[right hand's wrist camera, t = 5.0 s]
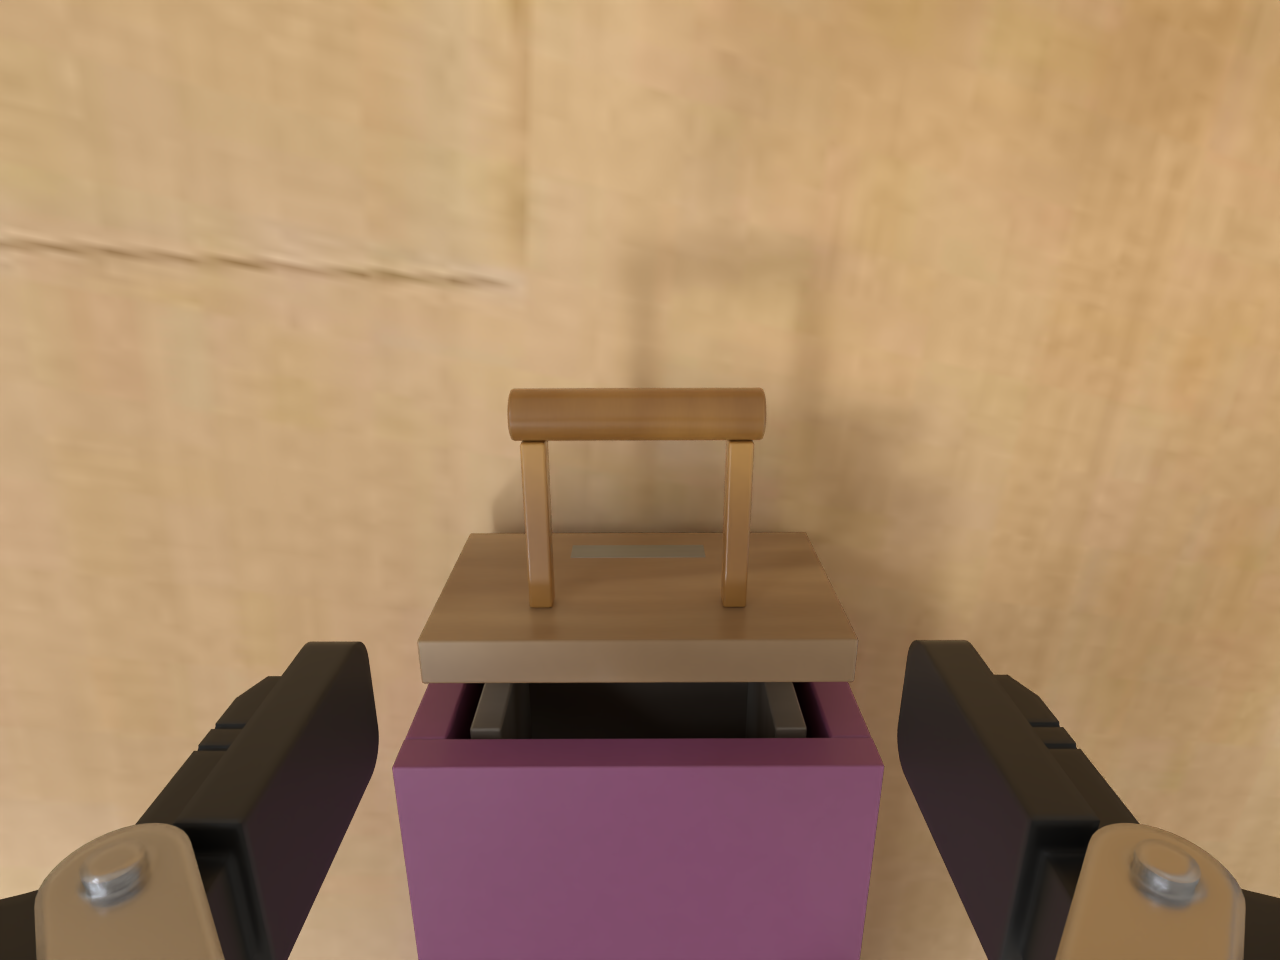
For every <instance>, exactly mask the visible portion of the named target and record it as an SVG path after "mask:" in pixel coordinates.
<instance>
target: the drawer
mask: <svg viewBox="0 0 1280 960" xmlns="http://www.w3.org/2000/svg"><path fill="white" fill-rule="evenodd" d="M765 426H766V399H765V394H764V391H763V389H761V388H564V389H512V390H511V391H510V394H509V398H508V427H509V433H510V436H511V439H512V440H514V441H522V442H521V445H520V451H521V468H522V485H523V502H524V519H525V533H481V534H470V536H469V538H468V540H467V542H466V544H465V546H464V548H463V550H462V552H461V554H460V556H459V558H458V560H457V562H456V564H455V566H454V568H453V570H452V572H451V574H450V576H449V578H448V580H447V582H446V584H445V586H444V588H443V591H442V593H441V595H440V597H439V599H438V601H437V603H436V605H435V607H434V609H433V611H432V613H431V615H430V617H429V619H428V621H427V623H426V625H425V627H424V629H423V631H422V633H421V635H420V637H419V639H418V642H417V643H418V652H419V660H420V669H421V678H422V682H423V683H485V684H484V687H483V690H482V693H481V697H480V700H479V703H478V706H477V709H476V713H475V716H474V719H473V722H472V725H471V728H470V734H471V739H668V738H806V732H807V728H806V725H805V721H804V718H803V715H802V712H801V709H800V705H799V702H798V699H797V696H796V693H795V689H794V686H793V683H792V682H853V681H854V676H855V666H856V657H857V648H858V638H857V636H856V634H855V632H854V630H853V628H852V626H851V624H850V622H849V620H848V618H847V616H846V614H845V612H844V610H843V608H842V606H841V604H840V602H839V600H838V598H837V596H836V593H835V591H834V589H833V587H832V585H831V583H830V581H829V579H828V577H827V575H826V573H825V571H824V569H823V567H822V565H821V563H820V561H819V559H818V557H817V555H816V553H815V551H814V548H813V546H812V544H811V542H810V540H809V538H808V536H807V534H806V533H805V532H767V533H750V518H751V497H752V477H753V456H754V443H753V441H752V440H760V439H762V438H763V436H764V433H765ZM596 440H726V466H725V494H724V522H723V533H552V521H551V499H550V477H549V455H548V441H596Z"/></svg>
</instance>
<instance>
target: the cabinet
mask: <svg viewBox="0 0 1280 960" xmlns="http://www.w3.org/2000/svg"><path fill="white" fill-rule="evenodd" d="M792 683H793V686H794V689H795V693H796V696H797V699H798V702H799V705H800V709H801V712H802V715H803V718H804V721H805V725H806V728H807V732H806V738H668V739H471V734H470V728H471V725H472V722H473V719H474V716H475V713H476V709H477V706H478V703H479V700H480V697H481V693H482V690H483V687H484V684H485V683H429V685H428V687H427V689H426V692H425V694H424V696H423V699H422V701H421V703H420V706H419V708H418V710H417V713H416V715H415V717H414V720H413V722H412V724H411V727H410V729H409V731H408V734H407V736H406V739H405V740H404V742H403V744H402V746H401V749H400V751H399V753H398V756H397V758H396V760H395V763H394V765H393V767H392V770H393V777H394V785H395V792H396V799H397V806H398V814H399V821H400V828H401V835H402V843H403V850H404V857H405V865H406V872H407V879H408V886H409V894H410V901H411V908H412V915H413V923H414V930H415V937H416V945H417V952H418V959H419V960H860V953H861V945H862V937H863V929H864V922H865V914H866V906H867V898H868V890H869V882H870V874H871V867H872V859H873V851H874V843H875V835H876V827H877V820H878V812H879V804H880V796H881V788H882V780H883V772H884V765H883V762H882V760H881V757H880V755H879V753H878V750H877V748H876V746H875V743H874V741H873V739H872V738H871V735H870V733H869V731H868V728H867V726H866V724H865V721H864V719H863V717H862V714H861V712H860V710H859V707H858V705H857V703H856V700H855V698H854V695H853V693H852V691H851V688H850V686H849V684H848V682H792Z"/></svg>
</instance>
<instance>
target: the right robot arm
mask: <svg viewBox="0 0 1280 960" xmlns="http://www.w3.org/2000/svg"><path fill="white" fill-rule="evenodd" d="M897 739H898V751H899V758H900V762H901V766H902V769H903V772H904V775H905V777H906V779H907V781H908V784H909V786H910V788H911V790H912V792H913V795H914V797H915V799H916V801H917V803H918V806H919V808H920V810H921V812H922V814H923V817H924V819H925V821H926V823H927V825H928V828H929V830H930V832H931V834H932V837H933V839H934V841H935V843H936V845H937V848H938V850H939V852H940V854H941V856H942V859H943V861H944V863H945V865H946V867H947V870H948V872H949V874H950V876H951V878H952V881H953V883H954V885H955V887H956V889H957V892H958V894H959V896H960V898H961V901H962V903H963V905H964V907H965V909H966V912H967V914H968V916H969V918H970V920H971V923H972V925H973V927H974V929H975V931H976V934H977V936H978V938H979V940H980V942H981V945H982V947H983V949H984V951H985V953H986V956H987V958H988V960H1280V898H1276V897H1272V896H1268V895H1264V894H1260V893H1255V892H1251V891H1247V890H1244V889H1241V888H1240V886H1239V885H1238V883H1237V881H1236V880H1235V879H1234V877H1233V876H1232V875H1231V874H1230V872H1229V871H1228V870H1227V869H1226V868H1225V867H1224V866H1223V865H1222V864H1221V863H1220V862H1219V861H1217V860H1216V859H1215V858H1214V857H1212V856H1211V855H1210V854H1209V853H1207V852H1206V851H1204V850H1203V849H1201V848H1200V847H1198V846H1197V845H1195V844H1193V843H1191V842H1189V841H1188V840H1186V839H1184V838H1182V837H1180V836H1177V835H1175V834H1173V833H1170V832H1168V831H1165V830H1162V829H1159V828H1155V827H1151V826H1147V825H1142V824H1139V823H1138V821H1137V820H1136V819H1135V818H1134V816H1133V815H1132V814H1131V812H1130V811H1129V810H1128V809H1127V807H1126V806H1125V805H1124V804H1123V802H1122V801H1121V800H1120V799H1119V797H1118V796H1117V795H1116V793H1115V792H1114V791H1113V790H1112V788H1111V787H1110V786H1109V785H1108V783H1107V782H1106V781H1105V780H1104V778H1103V777H1102V776H1101V774H1100V773H1099V772H1098V771H1097V769H1096V768H1095V767H1094V766H1093V764H1092V763H1091V762H1090V760H1089V759H1088V758H1087V757H1086V755H1085V754H1084V753H1083V752H1082V750H1081V749H1077V748H1076V743H1075V741H1074V740H1073V739H1072V738H1071V736H1070V735H1069V734H1068V733H1067V731H1066V730H1065V729H1064V728H1063V727H1060V726H1059V721H1058V720H1057V719H1056V717H1055V716H1054V715H1053V714H1052V712H1051V711H1050V710H1049V709H1048V707H1047V706H1046V705H1045V703H1044V702H1043V701H1042V700H1041V698H1040V697H1039V696H1037V695H1036V694H1035V693H1033V692H1032V691H1030V690H1029V689H1027V688H1026V687H1024V686H1023V685H1021V684H1020V683H1019V682H1017V681H1016V680H1014V679H1013V678H1011V677H1010V676H1008V675H994V674H993V673H992V672H991V670H990V669H989V668H988V666H987V665H986V663H985V662H984V661H983V659H982V658H981V657H980V655H979V654H978V653H977V651H976V650H975V648H974V647H973V646H972V645H971V643H969V642H968V641H965V640H916V641H914V642H912V644H911V646H910V648H909V651H908V656H907V663H906V671H905V678H904V685H903V693H902V700H901V708H900V715H899V722H898V733H897ZM378 744H379V732H378V723H377V716H376V709H375V701H374V694H373V687H372V680H371V673H370V665H369V658H368V653H367V650H366V647H365V645H364V644H363V643H362V642H308V643H307V644H305V645H304V647H303V648H302V649H301V650H300V652H299V653H298V655H297V656H296V657H295V659H294V660H293V661H292V663H291V664H290V665H289V667H288V668H287V669H286V671H285V672H284V673H283V675H282V676H268V677H266V678H265V679H263V680H262V681H260V682H259V683H258V684H256V685H255V686H253V687H252V688H250V689H249V690H247V691H246V692H244V693H243V694H242V695H240V696H239V697H237V698H236V699H235V700H234V701H233V703H232V704H231V705H230V706H229V708H228V709H227V710H226V711H225V713H224V714H223V715H222V716H221V718H220V719H219V720H218V721H217V723H216V727H215V729H211V730H210V732H209V733H208V734H207V735H206V737H205V738H204V739H203V740H202V742H201V743H200V744H199V745H198V746H199V748H198V751H194V752H193V753H192V754H191V755H190V757H189V758H188V759H187V760H186V762H185V763H184V764H183V765H182V767H181V768H180V769H179V770H178V772H177V773H176V774H175V775H174V777H173V778H172V779H171V780H170V782H169V783H168V784H167V786H166V787H165V788H164V789H163V791H162V792H161V793H160V794H159V796H158V797H157V798H156V799H155V801H154V802H153V803H152V804H151V806H150V807H149V808H148V809H147V811H146V812H145V813H144V814H143V816H142V817H141V818H140V819H139V821H138V822H137V823H136V824H135V825H133V826H129V827H125V828H121V829H118V830H115V831H112V832H110V833H107V834H105V835H103V836H100V837H98V838H96V839H94V840H92V841H91V842H89V843H87V844H85V845H83V846H82V847H80V848H79V849H77V850H76V851H74V852H73V853H71V854H70V855H69V856H68V857H66V858H65V859H64V860H63V861H61V862H60V863H59V864H58V865H57V866H56V867H55V868H54V869H53V870H52V871H51V872H50V874H49V875H48V876H47V877H46V879H45V880H44V881H43V883H42V885H41V886H40V888H39V890H36V891H33V892H29V893H26V894H22V895H17V896H13V897H9V898H5V899H1V900H0V960H287V959H288V957H289V955H290V953H291V951H292V949H293V946H294V944H295V942H296V940H297V938H298V935H299V933H300V931H301V929H302V927H303V925H304V922H305V920H306V918H307V916H308V914H309V912H310V909H311V907H312V905H313V903H314V901H315V898H316V896H317V894H318V892H319V890H320V888H321V885H322V883H323V881H324V879H325V877H326V874H327V872H328V870H329V868H330V866H331V864H332V861H333V859H334V857H335V855H336V853H337V850H338V848H339V846H340V844H341V842H342V840H343V837H344V835H345V833H346V831H347V829H348V826H349V824H350V822H351V820H352V818H353V816H354V813H355V811H356V809H357V807H358V805H359V803H360V800H361V798H362V796H363V794H364V792H365V789H366V787H367V785H368V783H369V781H370V779H371V776H372V774H373V771H374V768H375V764H376V759H377V753H378Z"/></svg>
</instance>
